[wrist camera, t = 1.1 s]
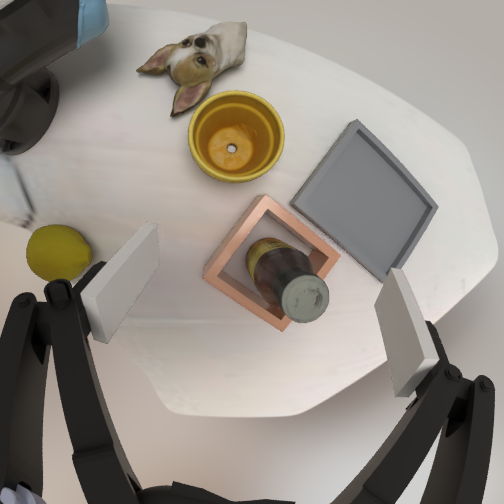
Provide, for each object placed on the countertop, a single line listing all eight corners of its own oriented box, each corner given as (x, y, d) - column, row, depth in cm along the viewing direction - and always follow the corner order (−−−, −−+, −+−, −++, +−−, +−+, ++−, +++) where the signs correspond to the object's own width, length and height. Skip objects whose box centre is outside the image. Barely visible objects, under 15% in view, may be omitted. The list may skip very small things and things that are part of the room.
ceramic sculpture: (272, 44, 30) (165, 109, 30) (264, 70, 38) (176, 125, 39) (223, -8, 28) (121, 51, 28) (223, 23, 36) (139, 75, 37)
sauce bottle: (296, 254, 43) (362, 294, 24) (269, 288, 44) (315, 352, 24) (261, 225, 42) (306, 245, 23) (233, 261, 42) (254, 311, 23)
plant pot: (256, 106, 39) (269, 81, 30) (277, 175, 41) (297, 167, 32) (183, 125, 38) (176, 103, 29) (204, 196, 40) (202, 194, 31)
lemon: (38, 266, 38) (11, 278, 30) (44, 216, 37) (16, 219, 29) (97, 284, 40) (76, 300, 32) (105, 231, 39) (84, 238, 31)
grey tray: (289, 203, 42) (293, 203, 40) (349, 122, 41) (357, 119, 39) (381, 282, 46) (389, 286, 44) (429, 206, 45) (438, 206, 43)
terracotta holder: (203, 267, 42) (202, 278, 36) (257, 195, 41) (265, 194, 35) (272, 315, 44) (282, 332, 38) (324, 248, 44) (341, 255, 38)
